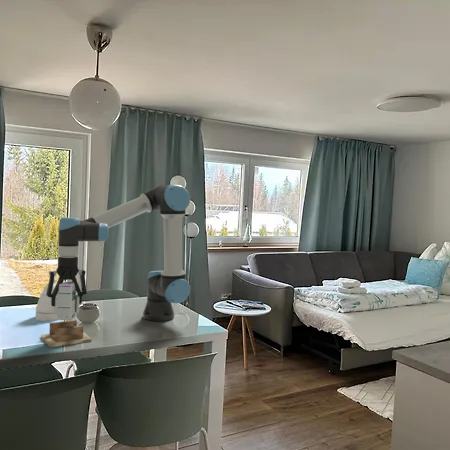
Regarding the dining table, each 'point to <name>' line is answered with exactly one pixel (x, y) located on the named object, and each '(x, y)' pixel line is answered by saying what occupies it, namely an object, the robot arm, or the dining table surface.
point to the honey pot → (45, 306)
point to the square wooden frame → (65, 334)
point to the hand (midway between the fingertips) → (66, 312)
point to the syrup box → (66, 301)
